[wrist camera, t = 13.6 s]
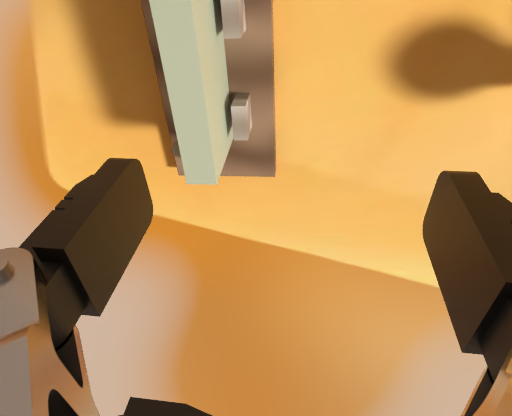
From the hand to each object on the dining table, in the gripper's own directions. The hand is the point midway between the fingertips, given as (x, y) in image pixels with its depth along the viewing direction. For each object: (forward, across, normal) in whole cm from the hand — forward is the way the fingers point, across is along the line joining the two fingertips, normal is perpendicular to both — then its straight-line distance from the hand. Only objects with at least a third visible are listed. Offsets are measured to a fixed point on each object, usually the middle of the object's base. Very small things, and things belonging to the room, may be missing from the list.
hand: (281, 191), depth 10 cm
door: (+22, +7, +3) cm, 23 cm away
